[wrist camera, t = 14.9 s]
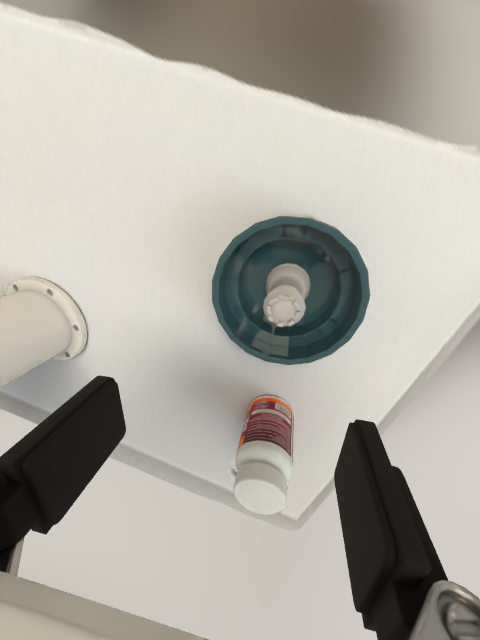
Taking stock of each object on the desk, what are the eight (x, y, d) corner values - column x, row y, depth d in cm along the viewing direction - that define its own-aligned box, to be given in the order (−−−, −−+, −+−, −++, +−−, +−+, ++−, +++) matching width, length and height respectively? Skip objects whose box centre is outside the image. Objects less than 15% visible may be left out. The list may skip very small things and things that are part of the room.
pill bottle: (243, 395, 34) (219, 474, 23) (289, 391, 32) (283, 475, 22) (255, 429, 36) (237, 516, 25) (298, 427, 34) (297, 520, 24)
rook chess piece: (298, 310, 27) (298, 347, 19) (260, 294, 27) (245, 325, 20) (318, 272, 25) (325, 297, 17) (276, 255, 25) (266, 273, 18)
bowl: (226, 329, 30) (212, 352, 25) (229, 211, 25) (212, 211, 20) (339, 346, 28) (348, 375, 23) (371, 219, 22) (391, 221, 17)
